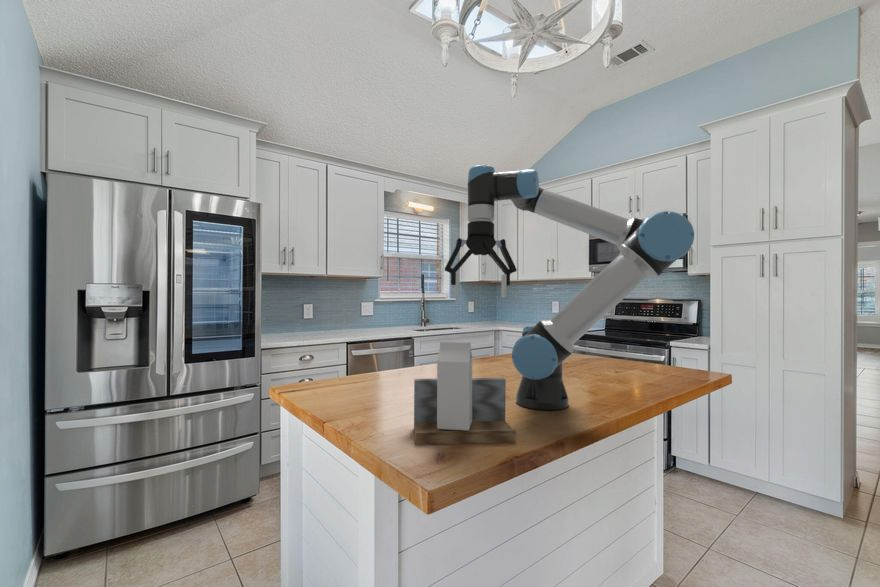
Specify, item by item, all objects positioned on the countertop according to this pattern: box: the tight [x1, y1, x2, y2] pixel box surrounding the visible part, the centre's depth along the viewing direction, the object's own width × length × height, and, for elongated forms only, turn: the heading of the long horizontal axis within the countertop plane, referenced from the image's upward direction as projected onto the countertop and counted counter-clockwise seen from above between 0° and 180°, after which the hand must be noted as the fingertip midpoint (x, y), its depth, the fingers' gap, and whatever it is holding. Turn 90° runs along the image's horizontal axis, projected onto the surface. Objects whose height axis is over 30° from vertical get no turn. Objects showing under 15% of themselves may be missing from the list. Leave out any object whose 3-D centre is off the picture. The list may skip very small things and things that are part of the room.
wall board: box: [413, 377, 517, 446], centre depth 95 cm, size 22×11×12 cm, turn 96°
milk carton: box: [436, 341, 473, 430], centre depth 94 cm, size 7×7×19 cm
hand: (480, 297), depth 116 cm, fingers open, 13 cm apart
